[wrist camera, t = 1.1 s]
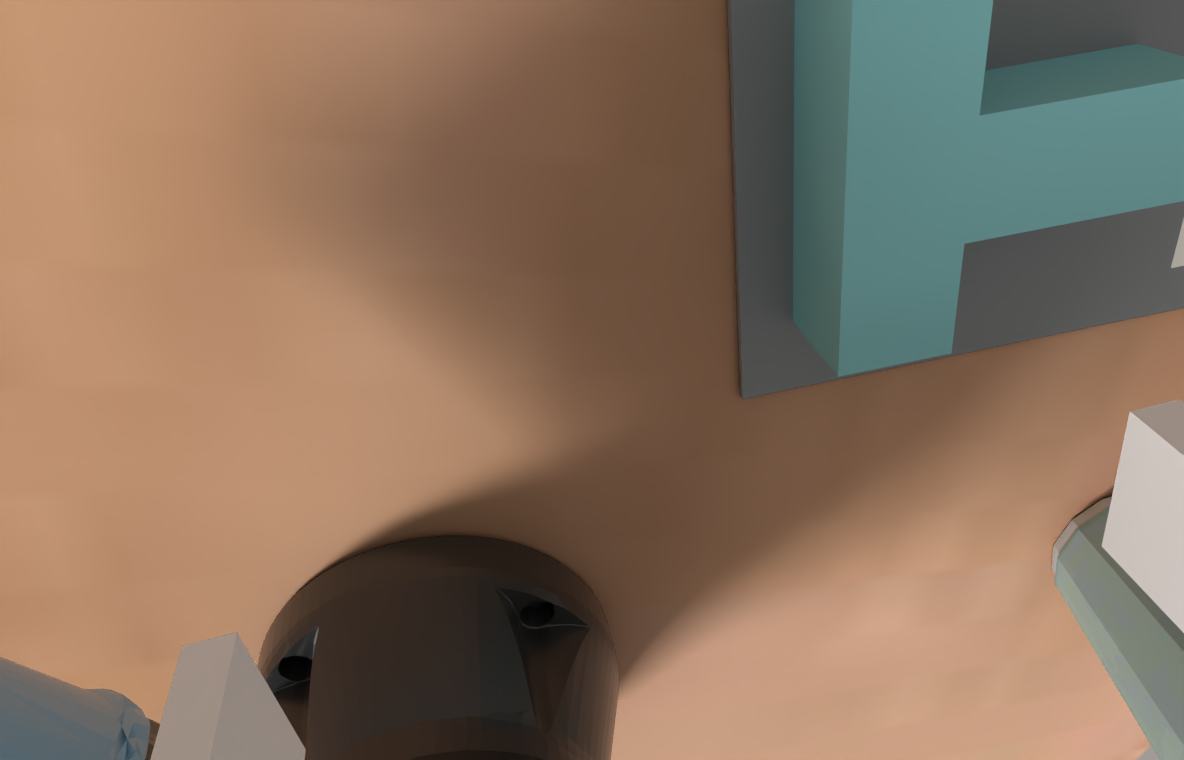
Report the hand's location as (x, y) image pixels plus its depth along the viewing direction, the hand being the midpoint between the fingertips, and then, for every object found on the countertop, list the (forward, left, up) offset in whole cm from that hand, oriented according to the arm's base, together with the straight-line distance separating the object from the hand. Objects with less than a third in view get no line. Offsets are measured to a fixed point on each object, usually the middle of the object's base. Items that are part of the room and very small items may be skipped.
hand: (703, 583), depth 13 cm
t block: (-1, -15, -18) cm, 23 cm away
